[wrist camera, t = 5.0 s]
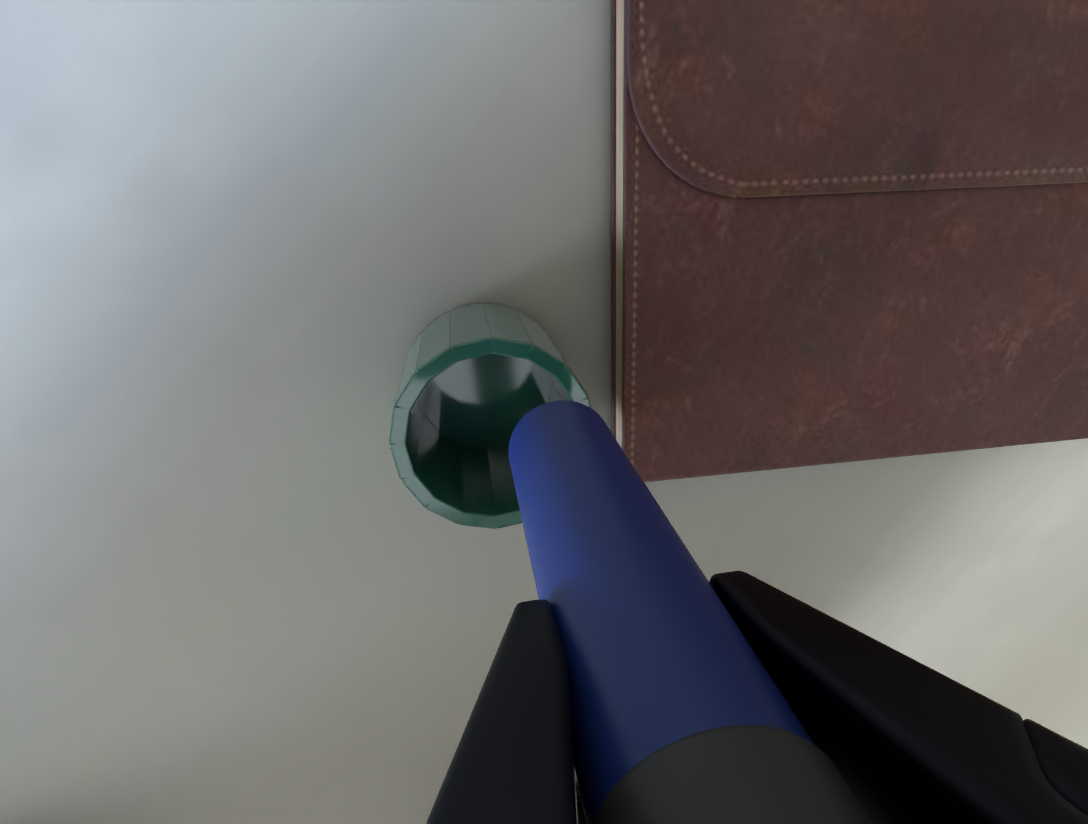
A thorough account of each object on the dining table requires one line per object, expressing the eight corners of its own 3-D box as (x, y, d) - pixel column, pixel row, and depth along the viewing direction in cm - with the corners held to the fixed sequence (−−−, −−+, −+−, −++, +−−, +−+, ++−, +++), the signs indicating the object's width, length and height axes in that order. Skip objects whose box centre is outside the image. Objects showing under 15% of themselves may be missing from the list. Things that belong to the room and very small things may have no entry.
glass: (589, 396, 21) (629, 457, 16) (466, 479, 21) (471, 562, 16) (503, 270, 19) (521, 296, 14) (371, 363, 19) (346, 419, 15)
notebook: (1111, 422, 24) (1166, 442, 22) (611, 471, 22) (626, 497, 20) (1245, -39, 19) (1332, -64, 17) (610, -40, 17) (630, -69, 15)
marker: (631, 457, 14) (1179, 1278, 3) (544, 515, 14) (815, 1461, 4) (575, 375, 13) (1073, 1131, 3) (483, 438, 13) (607, 1377, 3)
